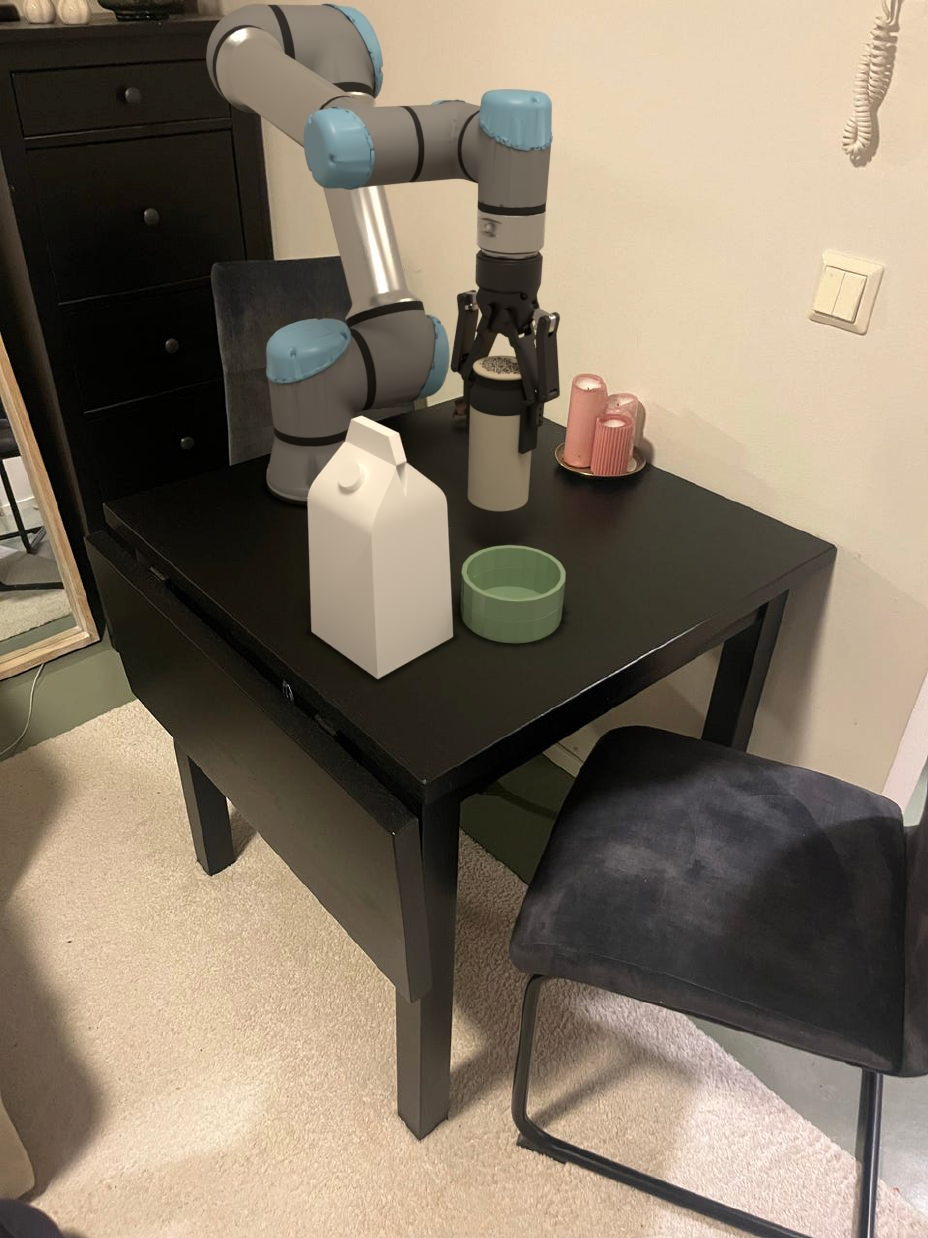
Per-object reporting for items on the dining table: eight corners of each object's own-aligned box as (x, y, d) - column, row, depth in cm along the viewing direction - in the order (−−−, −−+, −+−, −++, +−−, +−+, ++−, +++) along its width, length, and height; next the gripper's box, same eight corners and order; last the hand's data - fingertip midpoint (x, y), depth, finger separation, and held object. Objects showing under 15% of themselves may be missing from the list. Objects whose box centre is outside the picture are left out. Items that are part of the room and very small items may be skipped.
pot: (440, 613, 109) (440, 572, 106) (505, 575, 117) (507, 534, 113) (517, 656, 103) (520, 613, 99) (581, 612, 110) (586, 571, 107)
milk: (453, 636, 105) (457, 428, 90) (377, 679, 99) (368, 462, 84) (386, 594, 112) (379, 394, 97) (311, 631, 106) (292, 423, 90)
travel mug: (475, 516, 115) (480, 379, 104) (461, 488, 121) (464, 356, 111) (535, 510, 116) (545, 374, 106) (518, 482, 123) (526, 352, 112)
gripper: (419, 239, 104) (420, 424, 117) (563, 274, 93) (547, 475, 106) (463, 229, 109) (459, 408, 122) (605, 261, 97) (584, 455, 110)
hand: (500, 439), depth 114 cm, fingers closed on travel mug, 8 cm apart
